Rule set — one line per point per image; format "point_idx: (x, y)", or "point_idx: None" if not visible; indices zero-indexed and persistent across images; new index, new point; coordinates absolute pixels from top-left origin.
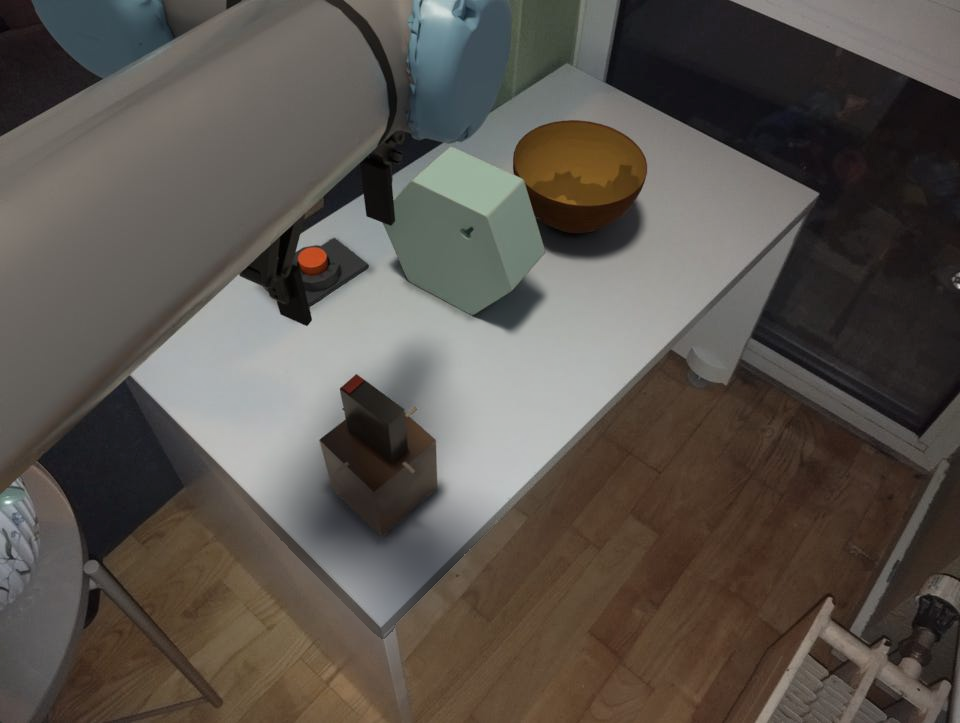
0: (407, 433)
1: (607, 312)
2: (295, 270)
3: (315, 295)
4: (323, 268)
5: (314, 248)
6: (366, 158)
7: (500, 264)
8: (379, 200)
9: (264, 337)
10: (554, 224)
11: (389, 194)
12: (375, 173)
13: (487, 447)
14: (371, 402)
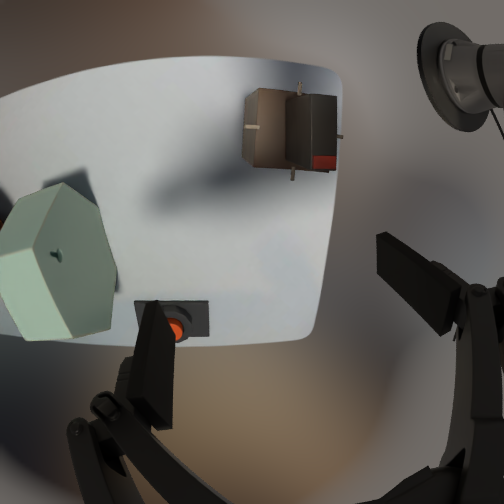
0: (272, 113)
1: (24, 137)
2: (458, 288)
3: (185, 305)
4: (168, 320)
5: None
6: (157, 426)
7: (54, 205)
8: (160, 346)
9: (238, 299)
10: (1, 227)
11: (145, 346)
12: (156, 396)
13: (186, 95)
14: (328, 129)
